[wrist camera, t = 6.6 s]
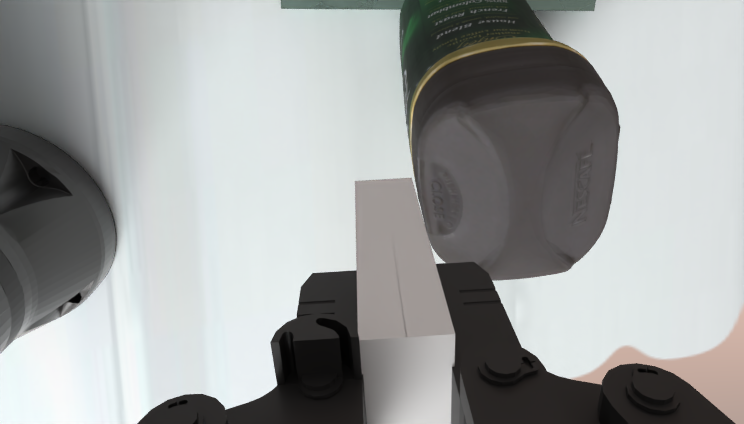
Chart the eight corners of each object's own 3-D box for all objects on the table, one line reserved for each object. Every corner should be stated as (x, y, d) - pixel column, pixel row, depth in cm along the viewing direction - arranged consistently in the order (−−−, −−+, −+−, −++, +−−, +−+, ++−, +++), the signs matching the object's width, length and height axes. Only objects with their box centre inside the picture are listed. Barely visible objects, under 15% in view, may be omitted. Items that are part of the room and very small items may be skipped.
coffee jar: (387, -22, 32) (401, 94, 17) (519, -44, 32) (658, 56, 16) (407, 123, 38) (430, 311, 22) (520, 107, 37) (624, 289, 22)
